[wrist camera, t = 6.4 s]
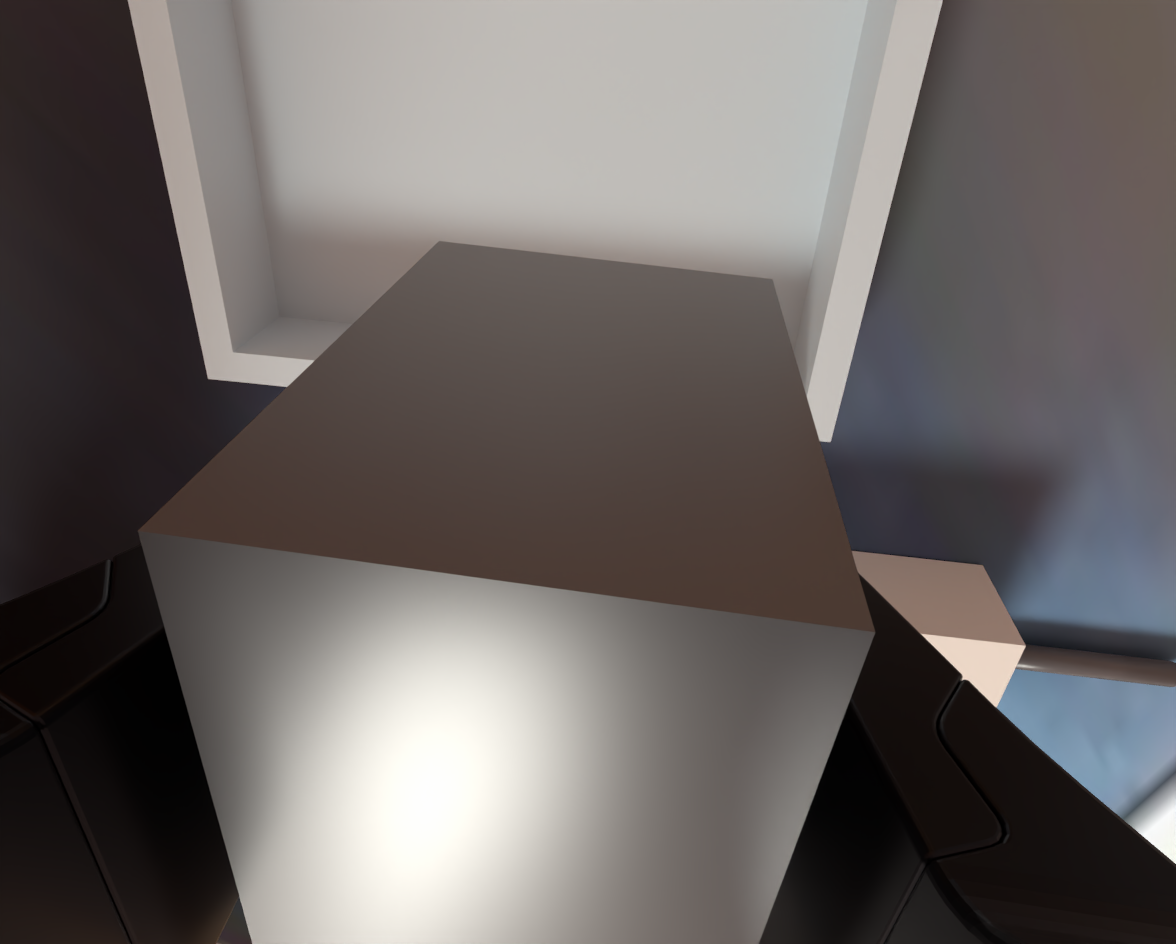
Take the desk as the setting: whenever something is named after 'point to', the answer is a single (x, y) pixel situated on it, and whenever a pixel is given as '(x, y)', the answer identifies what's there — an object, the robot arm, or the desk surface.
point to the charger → (519, 613)
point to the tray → (526, 152)
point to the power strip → (986, 626)
